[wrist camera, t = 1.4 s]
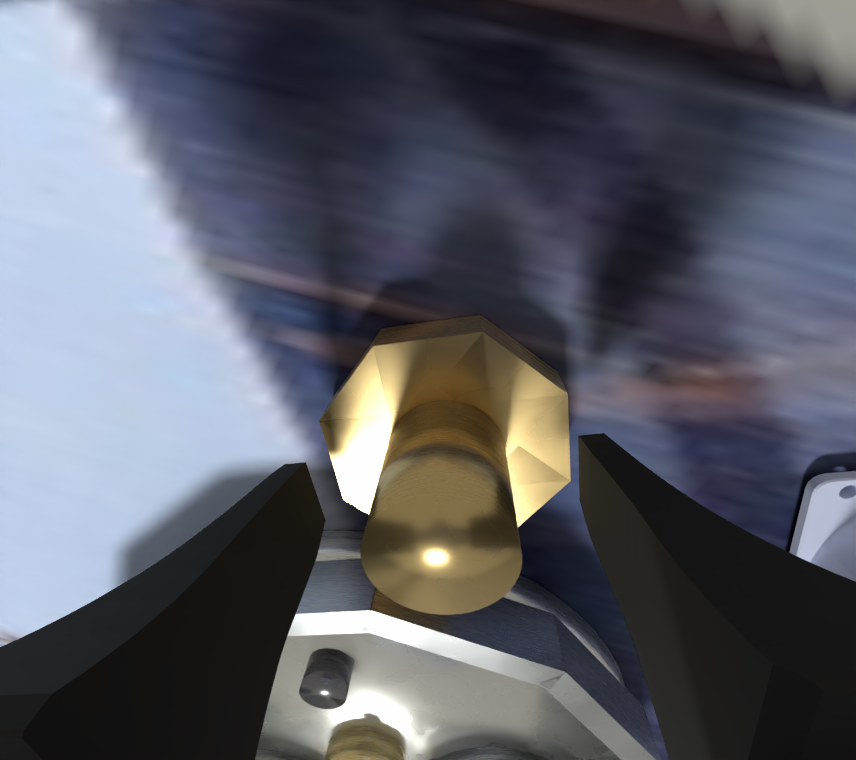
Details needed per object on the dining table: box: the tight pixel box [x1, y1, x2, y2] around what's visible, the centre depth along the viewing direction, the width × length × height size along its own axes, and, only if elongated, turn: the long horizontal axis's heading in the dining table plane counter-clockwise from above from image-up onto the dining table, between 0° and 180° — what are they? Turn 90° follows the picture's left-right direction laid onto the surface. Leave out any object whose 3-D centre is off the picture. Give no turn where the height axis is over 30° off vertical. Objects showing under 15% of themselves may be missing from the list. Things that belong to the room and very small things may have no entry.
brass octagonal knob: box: [319, 315, 571, 615], centre depth 12 cm, size 7×7×6 cm
